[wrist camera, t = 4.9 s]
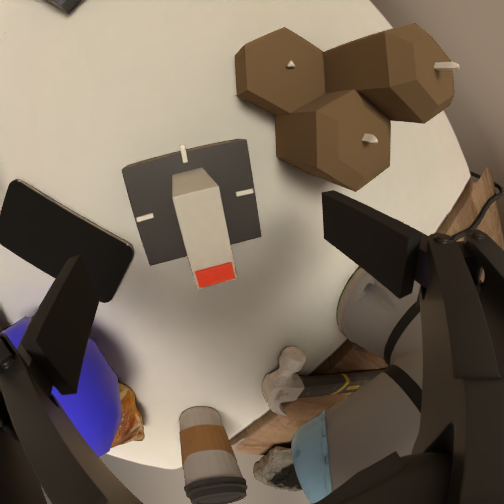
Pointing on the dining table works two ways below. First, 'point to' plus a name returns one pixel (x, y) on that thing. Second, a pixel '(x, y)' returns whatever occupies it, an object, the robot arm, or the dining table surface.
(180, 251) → the panel
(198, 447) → the coffee cup
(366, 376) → the hammer
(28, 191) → the smartphone
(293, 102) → the candle
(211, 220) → the timer knob
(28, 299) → the dining table surface
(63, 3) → the stop housing
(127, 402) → the seashell
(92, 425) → the bomb
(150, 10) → the dining table surface
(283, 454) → the stone
